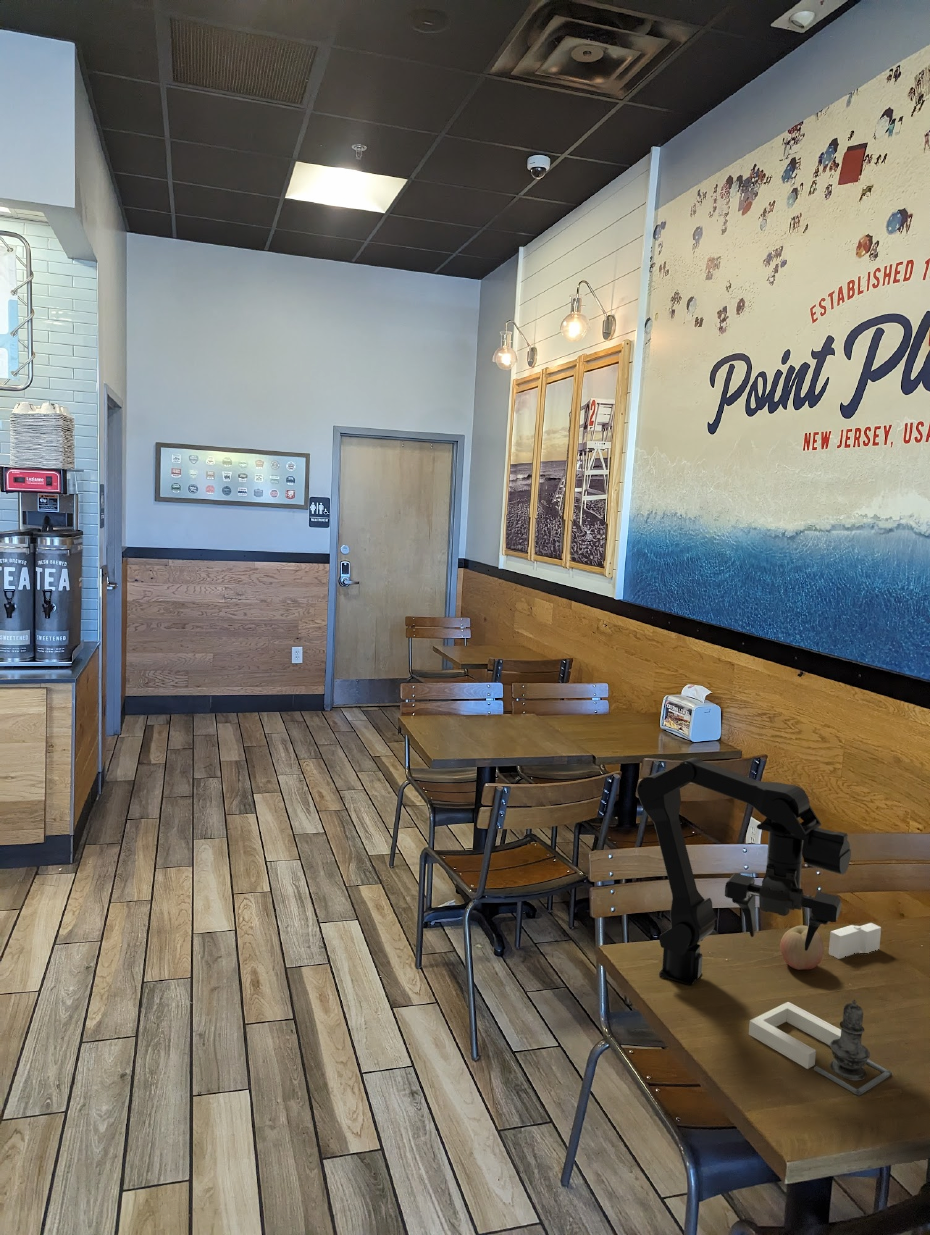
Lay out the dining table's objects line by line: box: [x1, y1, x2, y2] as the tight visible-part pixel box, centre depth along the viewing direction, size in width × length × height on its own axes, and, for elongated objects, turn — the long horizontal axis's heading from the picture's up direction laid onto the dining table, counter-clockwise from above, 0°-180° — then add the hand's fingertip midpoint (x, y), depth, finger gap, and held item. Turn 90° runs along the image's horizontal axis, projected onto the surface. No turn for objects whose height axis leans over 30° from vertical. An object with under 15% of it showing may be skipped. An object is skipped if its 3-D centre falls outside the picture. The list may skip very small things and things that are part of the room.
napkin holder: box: [828, 922, 882, 960], centre depth 179 cm, size 15×11×6 cm
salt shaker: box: [829, 999, 871, 1081], centre depth 139 cm, size 6×6×12 cm
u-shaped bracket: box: [748, 1001, 841, 1070], centre depth 147 cm, size 11×11×2 cm
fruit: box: [779, 924, 825, 971], centre depth 172 cm, size 8×8×8 cm
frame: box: [813, 1059, 893, 1097], centre depth 139 cm, size 8×10×1 cm
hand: (779, 942), depth 154 cm, fingers open, 9 cm apart
